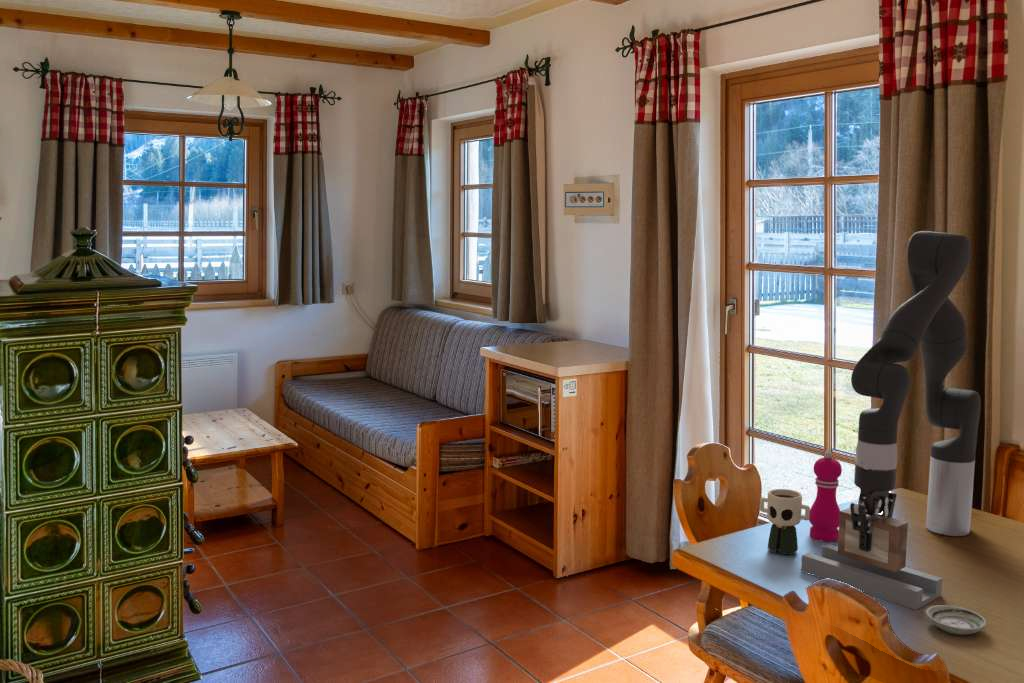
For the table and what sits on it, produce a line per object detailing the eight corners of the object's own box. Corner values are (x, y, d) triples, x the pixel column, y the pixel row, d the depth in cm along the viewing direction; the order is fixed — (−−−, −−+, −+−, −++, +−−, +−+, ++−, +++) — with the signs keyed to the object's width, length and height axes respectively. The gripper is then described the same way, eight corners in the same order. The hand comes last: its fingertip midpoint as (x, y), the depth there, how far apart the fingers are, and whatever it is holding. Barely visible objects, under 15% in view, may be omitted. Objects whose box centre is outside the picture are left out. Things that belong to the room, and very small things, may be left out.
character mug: (752, 550, 198) (754, 493, 196) (763, 541, 204) (766, 485, 202) (802, 561, 192) (805, 502, 190) (812, 551, 197) (815, 493, 196)
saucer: (958, 645, 155) (959, 632, 154) (912, 622, 163) (913, 609, 163) (998, 635, 158) (999, 622, 158) (952, 613, 167) (953, 601, 167)
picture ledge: (827, 559, 193) (828, 543, 192) (941, 595, 175) (942, 578, 174) (801, 571, 186) (801, 555, 186) (916, 610, 168) (917, 592, 168)
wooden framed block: (848, 549, 186) (850, 507, 184) (905, 566, 177) (908, 522, 175) (837, 554, 183) (839, 511, 182) (894, 572, 174) (897, 526, 173)
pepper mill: (843, 543, 202) (848, 456, 200) (809, 541, 204) (813, 454, 201) (838, 532, 209) (842, 448, 207) (805, 530, 211) (809, 446, 208)
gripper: (876, 453, 185) (871, 534, 187) (838, 465, 175) (834, 550, 178) (912, 460, 179) (907, 544, 181) (875, 473, 170) (870, 561, 172)
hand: (871, 547), depth 179 cm, fingers closed on wooden framed block, 4 cm apart
